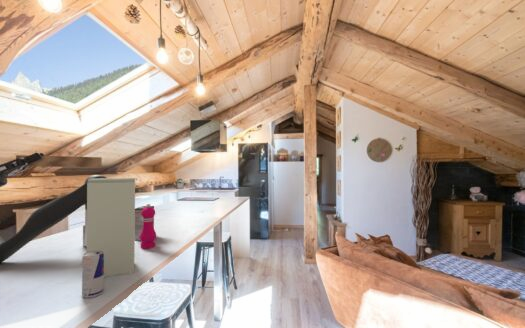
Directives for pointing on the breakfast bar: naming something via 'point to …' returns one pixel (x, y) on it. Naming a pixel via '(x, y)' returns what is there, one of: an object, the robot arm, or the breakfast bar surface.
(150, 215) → the pepper mill
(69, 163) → the bar
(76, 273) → the breakfast bar surface
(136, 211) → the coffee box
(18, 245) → the robot arm
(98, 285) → the energy drink
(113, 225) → the post
